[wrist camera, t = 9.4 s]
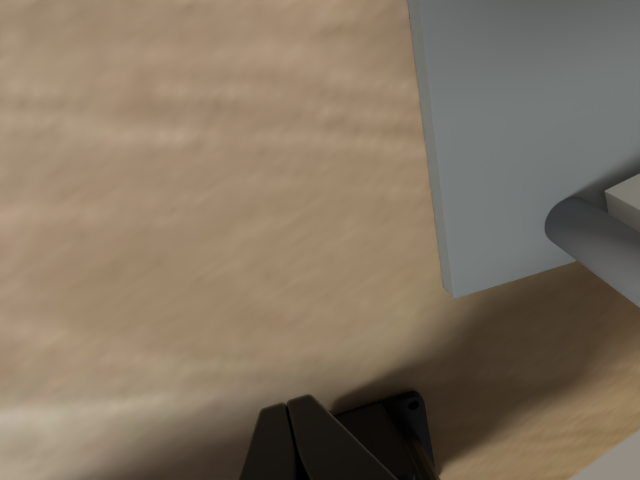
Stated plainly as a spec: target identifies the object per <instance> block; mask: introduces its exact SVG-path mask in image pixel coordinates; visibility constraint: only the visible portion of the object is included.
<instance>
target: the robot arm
mask: <svg viewBox="0 0 640 480" xmlns="http://www.w3.org/2000/svg"><path fill="white" fill-rule="evenodd" d="M412 401H414V402H413V403H412V404H410V403H411V402H412ZM237 480H440V478H439V476H438V474H437V472H436V470H435V466H434V460H433V454H432V448H431V442H430V435H429V429H428V423H427V417H426V411H425V405H424V401H423V399H422V397H421V395H420V393H418V392H417V391H408V392H405V393H402V394H399V395H396V396H393V397H390V398H387V399H384V400H381V401H377V402H374V403H371V404H368V405H365V406H362V407H359V408H356V409H353V410H349V411H346V412H343V413H340V414H337V415H334V416H332V415H331V414H330V413H329V412H328V411H327V410H326V409H325V408H324V407H323V406H322V405H321V404H320V403H319V402H318V401H317V400H316V399H315V398H314V397H313V396H312V395H309V394H307V395H303V396H300V397H297V398H294V399H291V400H289V401H288V402H287V406H286V404H285V403H278V404H275V405H272V406H268V407H265V408H263V409H262V410H261V411H260V413H259V416H258V419H257V422H256V425H255V428H254V431H253V434H252V437H251V440H250V443H249V446H248V449H247V452H246V455H245V458H244V461H243V464H242V467H241V470H240V473H239V476H238V479H237Z"/></svg>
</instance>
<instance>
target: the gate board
mask: <svg viewBox="0 0 640 480" xmlns="http://www.w3.org/2000/svg"><path fill="white" fill-rule="evenodd" d="M408 8H409V16H410V24H411V32H412V40H413V48H414V56H415V64H416V72H417V80H418V88H419V96H420V104H421V112H422V120H423V128H424V136H425V144H426V152H427V160H428V168H429V176H430V184H431V192H432V200H433V208H434V216H435V224H436V232H437V240H438V248H439V256H440V264H441V272H442V280H443V287H444V288H445V290H446V291H447V292H448V293H449V294H450V296H451V297H452V298H453V299H456V298H459V297H463V296H466V295H469V294H472V293H476V292H479V291H482V290H485V289H489V288H492V287H495V286H498V285H502V284H505V283H508V282H511V281H515V280H518V279H521V278H524V277H528V276H531V275H534V274H537V273H541V272H544V271H547V270H550V269H554V268H557V267H560V266H563V265H567V264H570V263H573V262H576V261H578V262H579V263H581V264H582V265H583V266H585V267H586V268H587V269H589V270H590V271H591V272H593V273H594V274H595V275H597V276H598V277H599V278H601V279H602V280H603V281H605V282H606V283H607V284H609V285H610V286H611V287H613V288H614V289H615V290H617V291H618V292H619V293H621V294H622V295H623V296H625V297H626V298H627V299H629V300H630V301H631V302H633V303H634V304H635V305H636V306H638V307H639V308H640V232H638V231H637V230H635V229H633V228H631V227H630V226H628V225H626V224H625V223H623V222H621V221H620V220H618V219H616V218H614V217H613V216H611V215H609V214H608V208H607V203H606V197H605V192H604V191H605V190H607V189H609V188H611V187H613V186H615V185H617V184H619V183H621V182H623V181H625V180H627V179H629V178H631V177H634V176H636V175H638V174H640V0H408Z"/></svg>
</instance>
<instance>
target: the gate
mask: <svg viewBox="0 0 640 480" xmlns="http://www.w3.org/2000/svg"><path fill="white" fill-rule="evenodd" d="M604 192H605V197H606V203H607V208H608V214H609V215H611V216H613V217H614V218H616V219H618V220H620V221H621V222H623V223H625V224H626V225H628V226H630V227H631V228H633V229H635V230H637V231H638V232H640V174H638V175H636V176H634V177H631V178H629V179H627V180H625V181H623V182H621V183H619V184H617V185H615V186H613V187H611V188H609V189H607V190H605V191H604Z"/></svg>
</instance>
